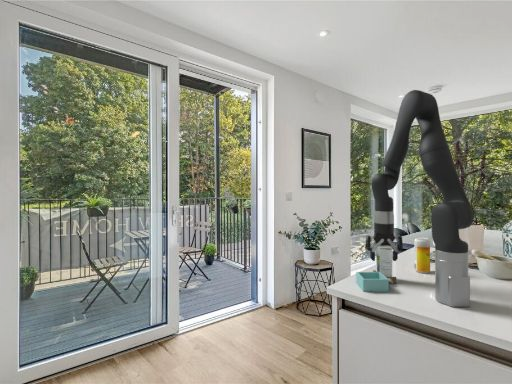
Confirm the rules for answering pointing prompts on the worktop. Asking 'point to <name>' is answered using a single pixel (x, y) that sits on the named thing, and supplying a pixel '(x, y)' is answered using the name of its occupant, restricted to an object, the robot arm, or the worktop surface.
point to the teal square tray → (372, 282)
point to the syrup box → (384, 260)
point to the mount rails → (390, 278)
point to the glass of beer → (422, 255)
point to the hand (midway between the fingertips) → (383, 260)
